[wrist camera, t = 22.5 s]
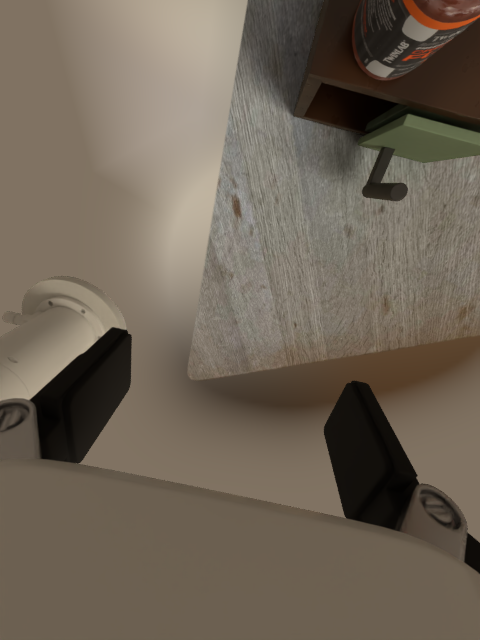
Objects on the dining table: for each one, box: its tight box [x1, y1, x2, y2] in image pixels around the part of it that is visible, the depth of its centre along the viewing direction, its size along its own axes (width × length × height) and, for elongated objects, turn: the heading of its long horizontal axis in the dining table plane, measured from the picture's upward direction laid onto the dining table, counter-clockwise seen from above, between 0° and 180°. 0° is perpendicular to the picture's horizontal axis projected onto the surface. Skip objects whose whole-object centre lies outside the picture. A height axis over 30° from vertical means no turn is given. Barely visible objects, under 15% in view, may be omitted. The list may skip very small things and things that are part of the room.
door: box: [358, 114, 480, 201], centre depth 28 cm, size 9×6×12 cm
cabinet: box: [293, 0, 480, 135], centre depth 23 cm, size 18×12×14 cm, turn 77°
